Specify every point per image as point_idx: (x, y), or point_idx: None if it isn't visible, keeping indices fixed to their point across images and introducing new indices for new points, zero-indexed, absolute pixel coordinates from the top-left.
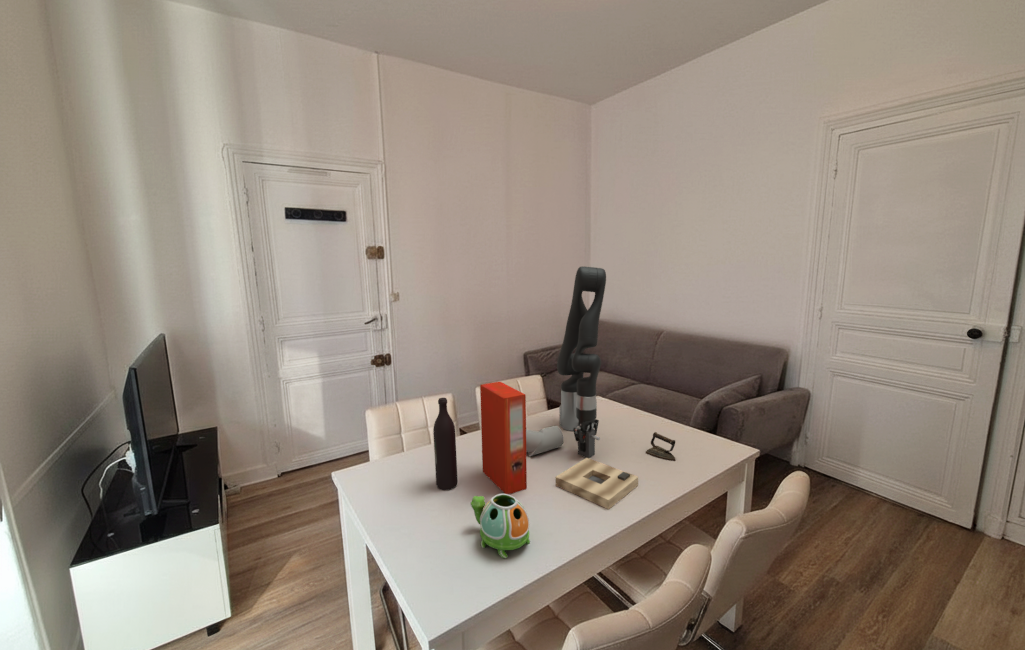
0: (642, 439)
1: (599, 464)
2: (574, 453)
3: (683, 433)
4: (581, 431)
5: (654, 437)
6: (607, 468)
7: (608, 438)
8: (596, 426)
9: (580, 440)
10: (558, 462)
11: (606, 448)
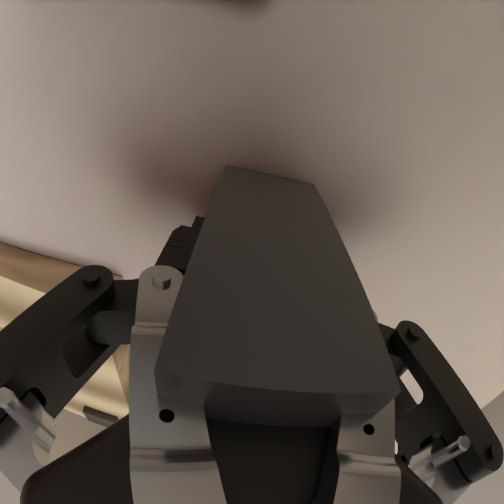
0: (476, 359)
1: (100, 367)
2: (228, 134)
3: (489, 394)
4: (49, 444)
5: (397, 453)
6: (102, 388)
7: (500, 265)
8: (404, 445)
9: (73, 344)
10: (47, 116)
11: (396, 298)
